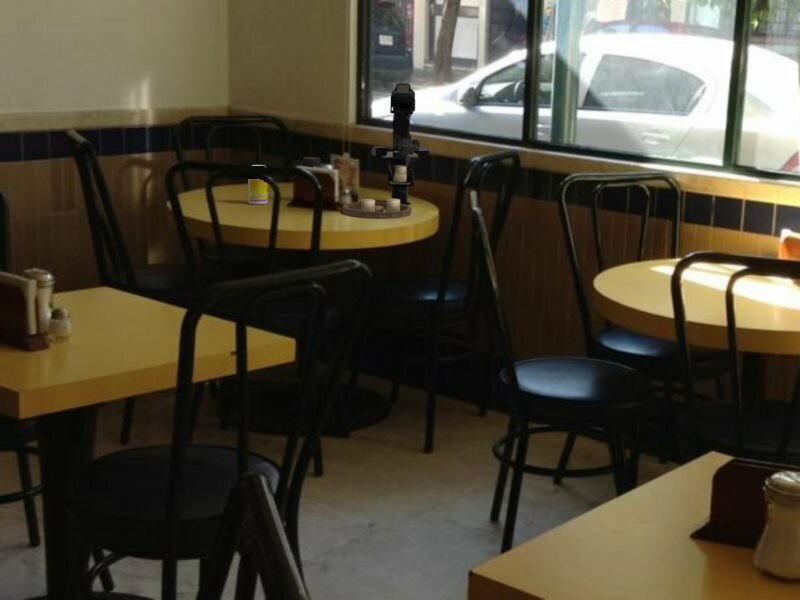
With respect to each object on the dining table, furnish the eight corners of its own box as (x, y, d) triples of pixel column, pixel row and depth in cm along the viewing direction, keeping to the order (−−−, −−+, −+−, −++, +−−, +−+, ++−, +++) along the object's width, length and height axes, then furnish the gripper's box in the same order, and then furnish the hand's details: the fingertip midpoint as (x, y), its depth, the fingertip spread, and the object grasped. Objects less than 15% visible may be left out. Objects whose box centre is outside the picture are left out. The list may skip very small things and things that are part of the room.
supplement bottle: (270, 204, 436) (270, 166, 433) (251, 205, 434) (251, 167, 431) (264, 201, 442) (265, 164, 439) (245, 202, 440) (246, 164, 437)
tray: (337, 210, 429) (337, 201, 429) (400, 209, 435) (401, 201, 434) (352, 221, 409) (352, 212, 408) (418, 220, 414) (419, 212, 414)
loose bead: (391, 180, 432) (392, 165, 431) (404, 180, 434) (404, 165, 433) (395, 181, 428) (395, 166, 427) (408, 181, 430) (408, 166, 428)
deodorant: (300, 200, 447) (301, 157, 444) (316, 199, 450) (317, 157, 446) (305, 203, 442) (306, 159, 439) (321, 202, 444) (322, 159, 441)
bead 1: (359, 214, 418) (360, 198, 417) (372, 214, 419) (373, 198, 418) (362, 216, 414) (363, 201, 413) (376, 216, 415) (376, 200, 414)
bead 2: (384, 213, 420) (385, 198, 419) (397, 213, 421) (398, 198, 420) (388, 216, 416) (388, 200, 415) (401, 215, 417) (401, 200, 416)
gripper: (380, 132, 417) (379, 180, 421) (435, 132, 422) (433, 180, 426) (371, 129, 428) (370, 176, 431) (425, 129, 433) (423, 175, 436)
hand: (399, 177), depth 431 cm, fingers closed on loose bead, 4 cm apart
